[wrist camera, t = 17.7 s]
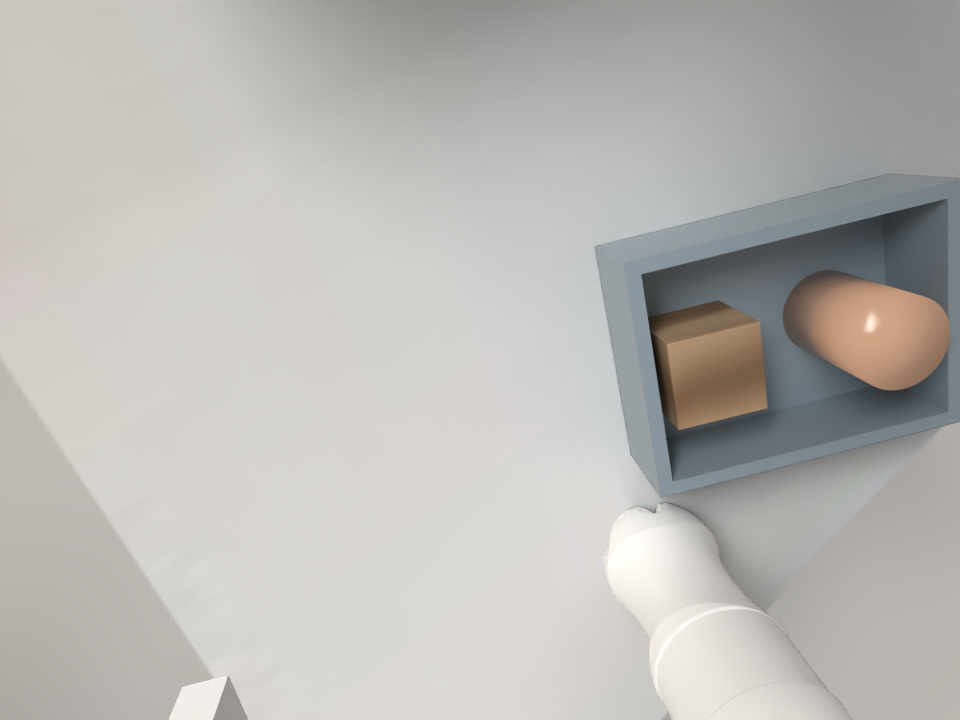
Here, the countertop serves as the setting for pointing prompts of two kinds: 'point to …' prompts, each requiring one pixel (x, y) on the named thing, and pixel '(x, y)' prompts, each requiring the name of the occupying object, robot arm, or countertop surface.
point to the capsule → (867, 328)
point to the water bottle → (707, 626)
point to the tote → (762, 295)
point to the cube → (708, 364)
